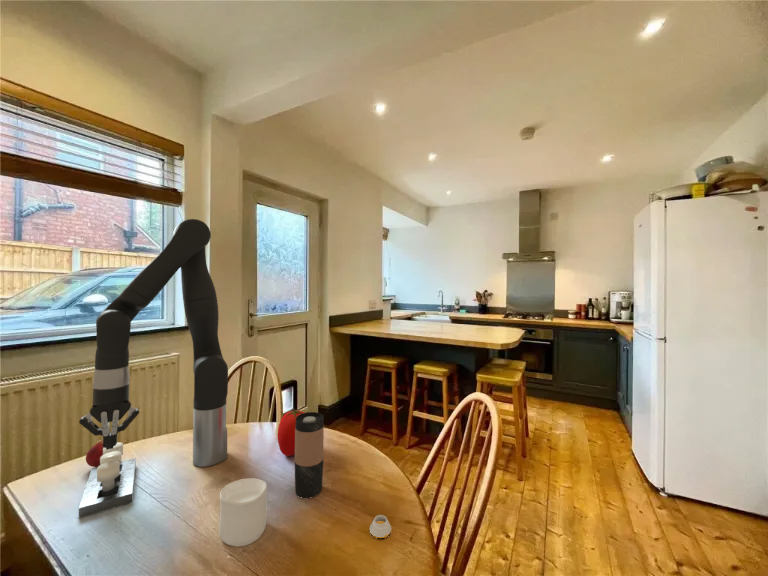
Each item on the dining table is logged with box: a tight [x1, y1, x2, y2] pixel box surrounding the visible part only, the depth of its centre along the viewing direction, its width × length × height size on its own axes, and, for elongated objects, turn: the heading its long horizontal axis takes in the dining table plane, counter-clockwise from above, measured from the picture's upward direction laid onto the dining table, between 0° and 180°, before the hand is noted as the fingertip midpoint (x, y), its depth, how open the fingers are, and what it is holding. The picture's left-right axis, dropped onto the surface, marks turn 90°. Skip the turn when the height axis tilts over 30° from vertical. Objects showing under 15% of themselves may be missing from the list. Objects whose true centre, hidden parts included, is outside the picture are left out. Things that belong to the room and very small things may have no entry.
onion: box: [85, 439, 104, 468], centre depth 98 cm, size 6×6×8 cm
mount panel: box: [78, 457, 137, 519], centre depth 88 cm, size 10×20×2 cm, turn 35°
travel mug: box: [294, 411, 325, 499], centre depth 89 cm, size 8×8×20 cm
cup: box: [218, 477, 268, 548], centre depth 74 cm, size 10×10×10 cm
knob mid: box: [100, 451, 122, 465], centre depth 88 cm, size 4×4×6 cm
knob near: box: [97, 461, 120, 491], centre depth 83 cm, size 4×4×6 cm
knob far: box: [103, 441, 124, 457], centre depth 93 cm, size 4×4×6 cm
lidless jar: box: [369, 514, 392, 537], centre depth 75 cm, size 5×3×5 cm
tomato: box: [276, 408, 306, 457], centre depth 108 cm, size 13×11×14 cm
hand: (109, 447), depth 88 cm, fingers closed
